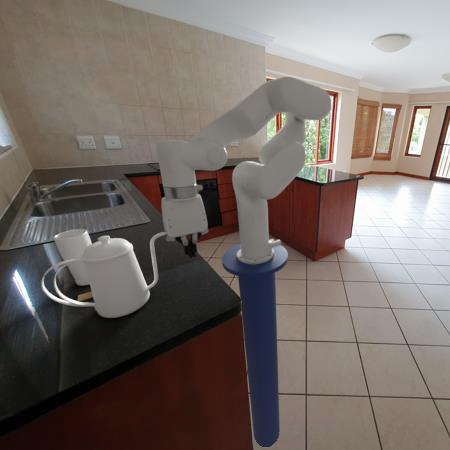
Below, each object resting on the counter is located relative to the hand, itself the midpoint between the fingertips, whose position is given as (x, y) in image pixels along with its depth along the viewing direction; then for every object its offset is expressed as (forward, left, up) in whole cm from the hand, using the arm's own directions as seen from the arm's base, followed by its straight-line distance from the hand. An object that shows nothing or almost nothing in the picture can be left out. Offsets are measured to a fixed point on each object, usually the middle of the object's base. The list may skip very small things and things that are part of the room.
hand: (191, 255), depth 66 cm
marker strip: (+23, -10, -8) cm, 26 cm away
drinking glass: (+25, -18, -9) cm, 32 cm away
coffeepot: (+17, 0, -9) cm, 19 cm away
